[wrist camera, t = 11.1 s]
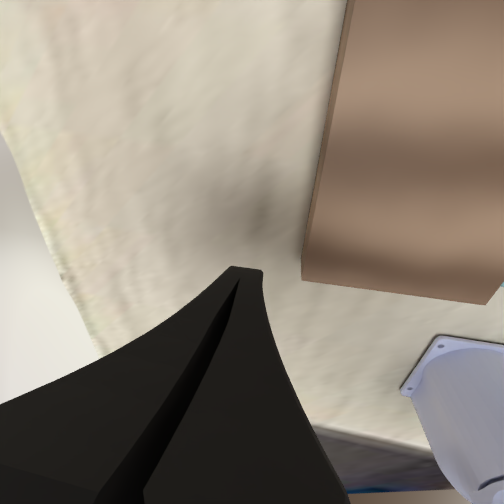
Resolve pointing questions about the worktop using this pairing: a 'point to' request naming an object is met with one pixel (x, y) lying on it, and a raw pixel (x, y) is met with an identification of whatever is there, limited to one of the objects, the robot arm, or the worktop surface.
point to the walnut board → (413, 153)
